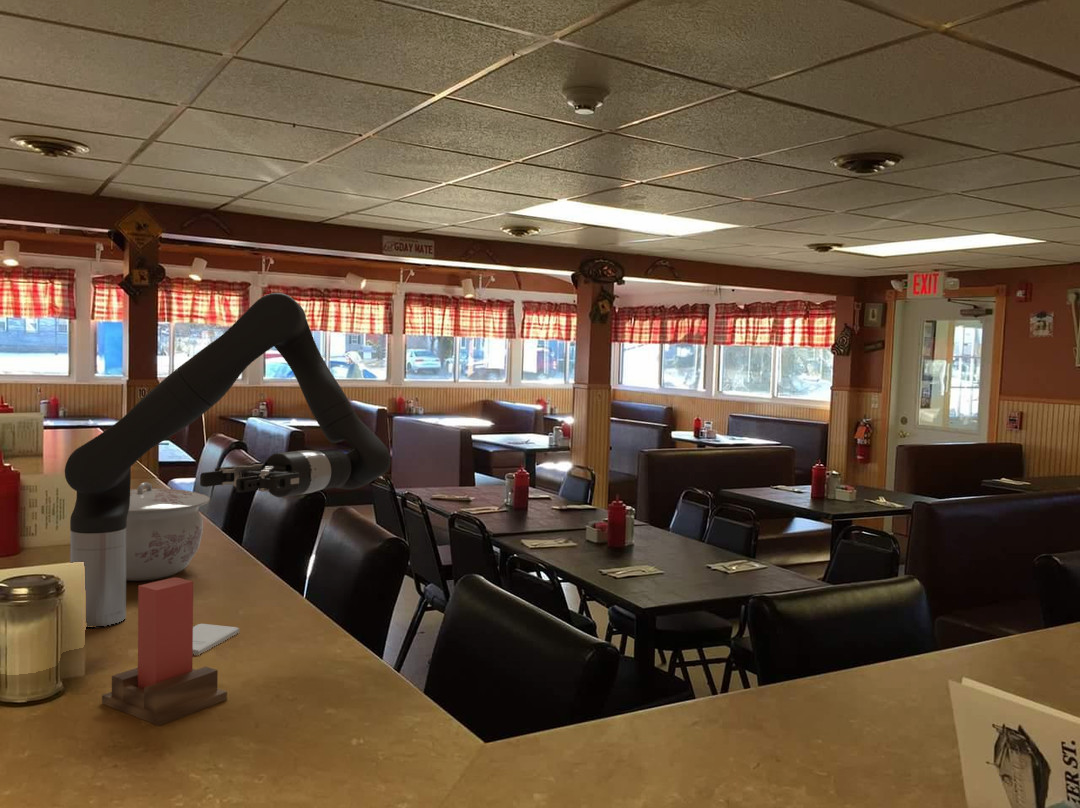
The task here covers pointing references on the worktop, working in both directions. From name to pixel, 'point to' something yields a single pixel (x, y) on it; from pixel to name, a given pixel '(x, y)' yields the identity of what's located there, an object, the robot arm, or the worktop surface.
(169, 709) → the rack
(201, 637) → the external hard drive
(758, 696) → the worktop surface
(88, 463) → the robot arm
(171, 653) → the salmon rectangular prism
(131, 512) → the chamber pot
